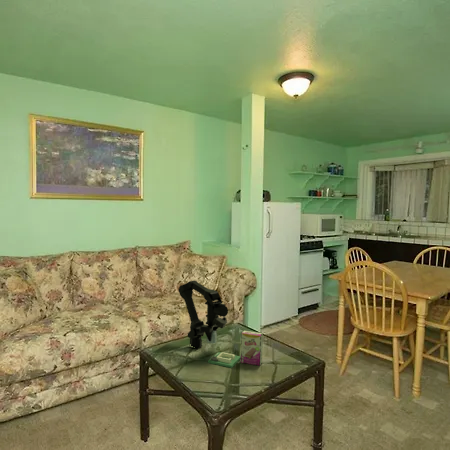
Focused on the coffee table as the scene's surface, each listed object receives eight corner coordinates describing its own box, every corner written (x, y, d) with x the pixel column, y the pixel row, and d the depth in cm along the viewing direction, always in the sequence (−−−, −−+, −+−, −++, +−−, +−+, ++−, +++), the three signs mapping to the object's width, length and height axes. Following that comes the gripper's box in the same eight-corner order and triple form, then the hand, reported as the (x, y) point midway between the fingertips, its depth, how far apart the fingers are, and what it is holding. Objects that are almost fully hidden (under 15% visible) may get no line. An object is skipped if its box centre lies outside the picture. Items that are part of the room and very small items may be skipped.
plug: (206, 342, 182) (207, 332, 182) (209, 340, 186) (210, 329, 186) (214, 343, 180) (214, 333, 180) (217, 341, 184) (217, 331, 184)
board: (208, 362, 171) (208, 356, 171) (218, 354, 183) (218, 348, 183) (232, 368, 165) (232, 361, 165) (240, 358, 177) (241, 352, 177)
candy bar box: (240, 363, 172) (240, 332, 172) (242, 359, 176) (243, 330, 176) (260, 366, 168) (261, 335, 168) (262, 362, 173) (263, 332, 173)
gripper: (217, 319, 171) (217, 348, 171) (231, 310, 188) (230, 337, 188) (199, 316, 176) (199, 344, 176) (214, 308, 193) (213, 334, 193)
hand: (211, 340), depth 183 cm, fingers closed on plug, 4 cm apart
